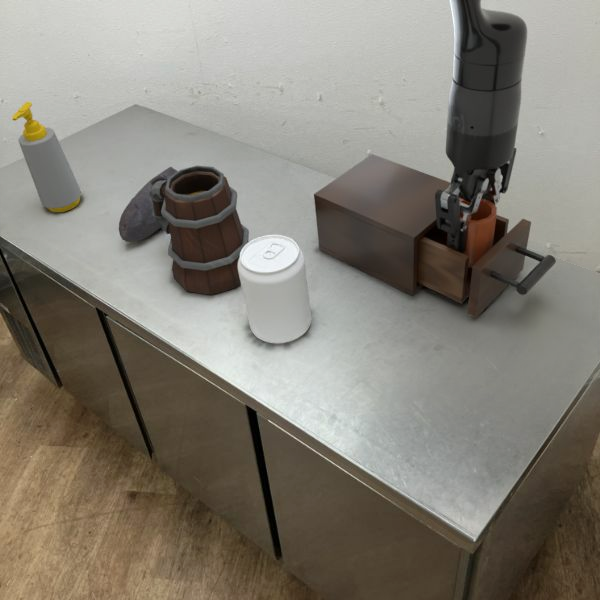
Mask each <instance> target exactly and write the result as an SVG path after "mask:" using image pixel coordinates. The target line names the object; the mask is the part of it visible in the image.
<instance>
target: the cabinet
mask: <svg viewBox="0 0 600 600" xmlns="http://www.w3.org/2000/svg"><path fill="white" fill-rule="evenodd" d="M450 186H451V181H447V180H444V179H443V178H442V179H441V178H439V177H436V176H434V175H431V174H428V173H426V172H423V171H420V170H417V169H415V168H412V167H409V166H406V165H404V164H401V163H398V162H395V161H393V160H390V159H387V158H384V157H382V156H378V155H376V154H373V153H371V154H370V155H368V156H367V157H365V158H363V160H361V161H359V162H358V163H356V164H355V165H354V166H353V167H351V168H349V169H348V170H347V171H345V172H344V173H342V174H341V175H340V176H338V177H336V178H335V179H333V180H332V181H331V182H330V183H327V184H326V185H325V186H323V187H322V188H320V189H319V190H318V191H316V192H314V194H313V198H314V209H315V210H314V211H315V219H316V231H317V240H318V250H319V251H321V252H322V253H325V254H327V255H329V256H331V257H333V258H335V259H336V260H339V261H340V262H343V263H345V264H347V265H349V266H351V267H353V268H355V269H357V270H359V271H361V272H363V273H365V274H367V275H369V276H371V277H372V278H375V279H377V280H379V281H381V282H384V284H387V285H389V286H392V287H394V288H395V289H397V290H400V291H401V292H403V293H405V294H407V295H410V296H411V297H413V296H415V295H416V294H417V293H418V292H419V291H421V289H422V288H423V287H425V286H424V285H422V284H420V283H418V282H417V259H418V240H419V239H420V238H421V237H422V236H423V235H425V234H426V233H427V232H428V231H429V230H431V229H432V228H433V227H434V226H435V225H437V218H436V205H435V193H436V191H437V190H438V189H442V190H444V191H446V190H447V189H448V188H449V187H450ZM459 199H460V197H459Z"/></svg>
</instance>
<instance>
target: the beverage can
mask: <svg viewBox="0 0 600 600" xmlns="http://www.w3.org/2000/svg"><path fill="white" fill-rule="evenodd" d="M238 272H239V277H240V282H241V284H240V286H241V291H242V295H243V301H244V305H245V309H246V313H247V319H248V323H249V327H250V331H251V332H252V333H253V334H254V336H255V337H256V338H258V339H259V340H261V341H264V342H265V343H271V344H284V343H290V342H292V341H295V340H297V339H298V338H300V337H301V336H303V335H304V334H305V333H306V332H307V331H308V330H309V328H310V326H311V325H312V311H311V303H310V293H309V286H308V278H307V277H308V276H307V268H306V260H305V255H304V253H303V251H302V249H301V248H300V247H299V244H298V243H297V242H296V241H295V240H294V239H292V238H291V237H288V236H285V235H282V234H265V235H262V236H258V237H255V238H253V239H251V240H250V241H249V242H248V243H247V244H246V245H245V246H244V247H243V248H242V250H241V252H240V258H239V260H238Z"/></svg>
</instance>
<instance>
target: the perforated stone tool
mask: <svg viewBox="0 0 600 600" xmlns="http://www.w3.org/2000/svg"><path fill="white" fill-rule="evenodd" d="M178 171H179V170H177V169H175V168H174V167H173V166H170V167H168V168H166V169H165V170H163V171H162V172H160V173H158V174H157V175H156V176H154V177H153V178H151V179H149V181H147V183H146V184H145V185H143V186H142V187H141V188H140V189H139V191H137V193H136V194H135V195H134V196H133V197H132V198H131V200H130V201H129V202H128V204H127V205H126V206H125V208H124V210H123V211H122V213H121V215H120V218H119V222H118V232H119V233H118V234H119V236H120V238H121V239H122V241H124V242H126V243H136V242H139V241H143V240H145V239H147V238H148V237H150V236H151V235H153V234H154V233H155V232H157V231H158V230H160V229H162V228H161V227H160V226H159V225H158V224H157V222H156V221H155V219H154V217H153V215H152V214H153V211H154V207H153V201H152V199H151V198H150V197H149V194H150V191H151V187H152V185H153V184H154V183H156V182H158V181H160V180H162V181H164V180H166V181H167V180H168V178H169V177H171V176H172V175H174V174H175V173H176V172H178Z"/></svg>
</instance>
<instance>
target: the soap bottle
mask: <svg viewBox="0 0 600 600" xmlns="http://www.w3.org/2000/svg"><path fill="white" fill-rule="evenodd" d="M32 106H33V103H32V102H31V101H26V102H25V103H23V104H22V105H21V107H20V108H19V109H18V110H17V111H16V112H15V113H14V114H13V116H12V117H11V119H12V121H17V120H18V119H20V118H23V119H24V120H25V121H26V122H24V124H23V128H24V129H23V131H22V134H21V135H20V136H19V138H18V139H17V140H18V144H19V147H20V149H21V152H22V154H23V157H24V161H25V162H26V166H27V168H28V171H29V173H30V176H31V178H32V181H33V184H34V186H35V189H36V192H37V194H38V198H39V201H40V203H41V205H42V206H44V207H45V208H47V210H49V211H50V212H52V213H64V212H67V211H70V210H72V209H74V208H76V207H77V206H78V205H79V204H80V201H81V196H82V190H81V188H80V185H79V183H78V181H77V178H76V176H75V174H74V172H73V170H72V167H71V165H70V163H69V161H68V158H67V157H66V153H65V151H64V150H63V147H62V145H61V143H60V141H59V139H58V136H57V134H56V132H55V130H54V129H52V128H50V127H46V126H45V125H43V124H40V123H39V120H36V119H33V117H34V115H33V113H32V110H31V107H32Z"/></svg>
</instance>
